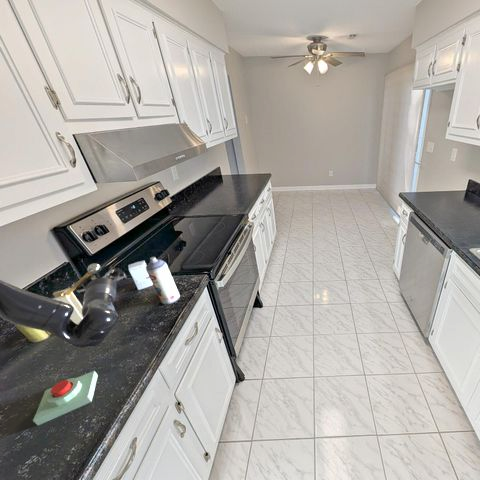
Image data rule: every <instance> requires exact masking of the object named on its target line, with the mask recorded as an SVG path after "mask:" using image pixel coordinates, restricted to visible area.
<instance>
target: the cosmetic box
mask: <svg viewBox="0 0 480 480" xmlns="http://www.w3.org/2000/svg"><path fill="white" fill-rule="evenodd" d="M146 266H147V263H146V261H145V260H140V261H135V262H134V263H130V264H128V272H129V275H130V277H131V278H132V280H133V281H134V284H135V286H136V288H137V290H138V291H140V290H143V289H147V288H149V287H151V286H154V285H153V283H152V281H151V279H150V277H149V275H148V273H147V270H146Z"/></svg>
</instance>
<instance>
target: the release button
mask: <svg viewBox="0 0 480 480" xmlns="http://www.w3.org/2000/svg"><path fill="white" fill-rule="evenodd" d="M51 388H52V389H51V393H52V394H53V395H54V396H55V397H60V396H63V395H64V394H66V393H67V392H68V391H69V390H70V389H71V388H72V385H71V383H70V382H69V381H68V380H67V379H65V380H61V381H59V382H57V383H56V384H55V385H54V386H53V387H51Z"/></svg>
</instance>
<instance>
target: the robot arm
mask: <svg viewBox="0 0 480 480" xmlns="http://www.w3.org/2000/svg"><path fill="white" fill-rule="evenodd" d="M127 279H128V276H127V274H126V273H125V272H124V271H123V270H122V269H121V268H119V267H118V268H116V267H115V266H113V265H110V266H109V267H108V271H107V272H106V273H105V275H104V276H102V277H101V274H100V272H99V273H97V274H91V275H90V277H88V278H85V279H84V280H83V281H82V282H81V283H80V284H79V285H78V286H77V287H76V289H75V290H76V292H77V293H78V295H82V294H84V295H83V298H82V299H83V304H82V316H83V319H82V320H81V321H80V323H79V324H76V323H74V322H73V321H72V320H71V319H70V318H71V315H72V313H73V310H74V307H73V306H72V305H71V304H68V303H65V302H61V301H58V300H55V299H52V298H51V297H48V296H45V295H41V294H38V293H34V292H31V291H29V290H25V289H23V288H20V287H18V286H15V285H13V284H12V283H9V282H6V281H4V280H2V279H0V317H1V318H2V319H3V320H5V321H7V322H9V323H11V324H13V323H14V324H17V325H20V326H26V327H29V328H33V329H38V330H40V329H41V330H42V331H46V332H49V333H51V334H52V336H55V337H57V338H58V339H61V340H63V341H65V342H66V343H68V344H71V346H74V347H77V348H80V349H91V348H96V347H97V346H99V345H101V344H102V343H103V342H104V340H105V339H106V337H107V336H108V335H109V333H110V332H111V331H112V330H113V328H114V327H115V326H116V324H117V322H118V320H119V312H118V311H117V309H116V308H115V301H116V298H117V287H118V285H117V284H118V283H119V281H121V280H123V281H126V280H127ZM14 324H13V325H14Z"/></svg>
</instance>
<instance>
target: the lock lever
mask: <svg viewBox="0 0 480 480" xmlns="http://www.w3.org/2000/svg"><path fill="white" fill-rule="evenodd" d="M101 271H102V266H101V265H100V264H99V263H91V264H89V265H88V266H87V272H86V273H85V274H84V275H83V276H82V277H81V278H79V280H78V281H76V282H75V283H74V284H73V285H72V286H71V287H69V288H70V289H69V290H68V291H67V292H66V293H64V292H62V293H61V294H60V295H59V296H63V295H66V294H67V296H68V297H70V295H69V294H70V293H72V292H73V293H74V291H75V290H76V287H77V286H78V285H79V284H80V283H81V282H82V281H83V280H84V279H85V278H88V279H89V278H90V277H91V276H92V274H97V273H99V274H100V272H101ZM59 296H58V297H59Z"/></svg>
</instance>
